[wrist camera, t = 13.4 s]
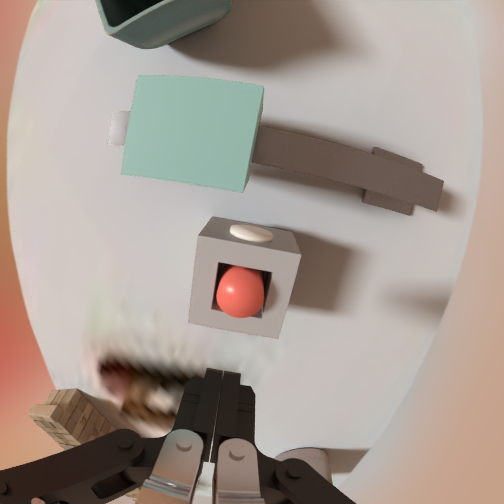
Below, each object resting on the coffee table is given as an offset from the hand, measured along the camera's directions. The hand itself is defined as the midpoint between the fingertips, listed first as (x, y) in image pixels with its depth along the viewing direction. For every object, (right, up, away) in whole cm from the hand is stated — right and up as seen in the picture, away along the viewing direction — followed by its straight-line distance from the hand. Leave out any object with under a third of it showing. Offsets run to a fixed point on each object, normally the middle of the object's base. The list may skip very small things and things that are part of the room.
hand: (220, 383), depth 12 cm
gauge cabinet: (+1, +5, +14) cm, 15 cm away
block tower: (-23, -28, +26) cm, 45 cm away
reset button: (+1, +4, +12) cm, 12 cm away
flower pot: (-5, +27, +7) cm, 29 cm away
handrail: (+4, +14, +11) cm, 18 cm away
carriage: (-1, +14, +7) cm, 15 cm away
